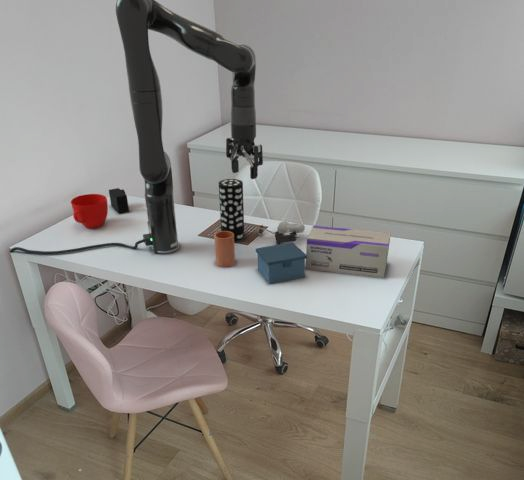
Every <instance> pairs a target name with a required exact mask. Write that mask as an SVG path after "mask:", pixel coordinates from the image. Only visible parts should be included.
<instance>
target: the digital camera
mask: <svg viewBox="0 0 524 480" xmlns="http://www.w3.org/2000/svg"><path fill="white" fill-rule="evenodd" d="M108 195H109V199H110V200H109V202H110V205H111V207H112V209H114V211H116V212H117V213H118V214H119V215H120V214H121V215H122V214H125V213H129V212H130V208H129V202H128V195H127V194H126V191H125V189H124V188H123V189H120V188H119V187H117V188H111V189H108Z"/></svg>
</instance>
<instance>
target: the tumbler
mask: <svg viewBox="0 0 524 480" xmlns="http://www.w3.org/2000/svg"><path fill="white" fill-rule="evenodd" d="M213 235H214V236H213V237H214V238H213V239H214V253H215V254H214V255H215V265H216V266H217V267H221V268H230V267H233V266H234V265H235V264H236V249H235V248H236V247H235V246H236V245H235V242H234V233H232V232H230V231H221V230H219V231H216V232H215V233H214V234H213Z"/></svg>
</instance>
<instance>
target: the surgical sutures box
mask: <svg viewBox="0 0 524 480" xmlns="http://www.w3.org/2000/svg"><path fill="white" fill-rule="evenodd" d="M390 243H391V232H385V231H384V232H383V231H374V230H363V229H354V228H345V227H334V226H325V225H313V226H312V227H311V229H310V232H309V233H308V235H307V236H306V250H305V251H306V252H305V254H306V255H307V259H305V270H312V271H319V272H329V273H335V274H343V275H353V276H361V277H369V278H377V279H378V278H379V279H384V278H385V274H386V269H387V263H388V258H389V249H390Z"/></svg>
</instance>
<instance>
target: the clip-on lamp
mask: <svg viewBox="0 0 524 480" xmlns="http://www.w3.org/2000/svg"><path fill="white" fill-rule="evenodd" d="M305 229H306V226H305V224H304V223H302V222H295V223H294V222H292V223H290V222H288V221H284V220H283V221H281V222H279V223H278V225H277V227H276V230H277V231H275V232H274V231H271V230H269V229H266V228H264V224H260V225H259V227H257V228H256V229H255V231H256V234H257V235H258V236H261V235H263V231H266V232H267V233H268V232H269V233H270V234H273V235H274V239H275V242H276V245H279V244H284V243H291V242H293V243H295V242H296V241H297V238H298V239H300V238H301V237H300V236H299V235H298V234H302V233H304V232H305Z"/></svg>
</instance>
